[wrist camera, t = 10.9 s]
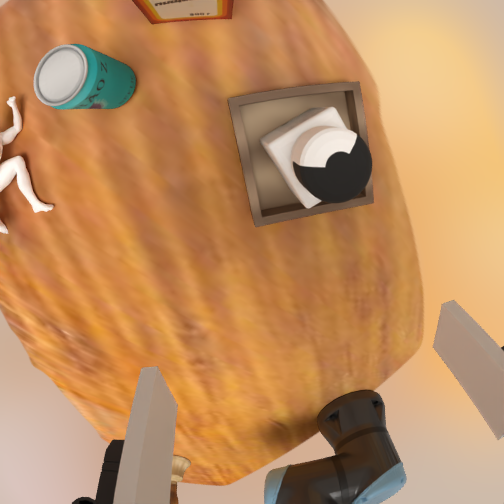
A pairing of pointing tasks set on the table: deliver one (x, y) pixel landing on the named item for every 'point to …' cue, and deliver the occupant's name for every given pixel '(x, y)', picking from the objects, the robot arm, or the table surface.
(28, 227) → the table surface
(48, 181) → the table surface
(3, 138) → the person figurine
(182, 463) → the hand bell
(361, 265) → the table surface
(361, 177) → the container
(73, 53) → the beverage can
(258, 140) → the crate
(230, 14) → the baking soda box
